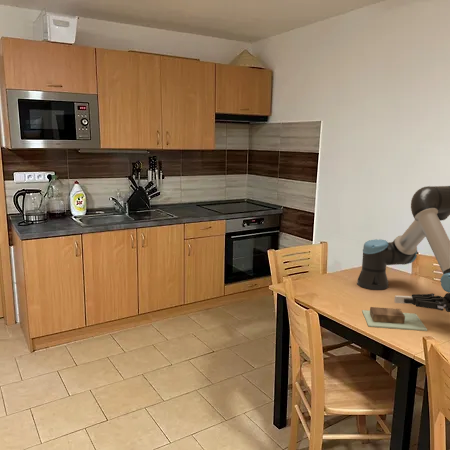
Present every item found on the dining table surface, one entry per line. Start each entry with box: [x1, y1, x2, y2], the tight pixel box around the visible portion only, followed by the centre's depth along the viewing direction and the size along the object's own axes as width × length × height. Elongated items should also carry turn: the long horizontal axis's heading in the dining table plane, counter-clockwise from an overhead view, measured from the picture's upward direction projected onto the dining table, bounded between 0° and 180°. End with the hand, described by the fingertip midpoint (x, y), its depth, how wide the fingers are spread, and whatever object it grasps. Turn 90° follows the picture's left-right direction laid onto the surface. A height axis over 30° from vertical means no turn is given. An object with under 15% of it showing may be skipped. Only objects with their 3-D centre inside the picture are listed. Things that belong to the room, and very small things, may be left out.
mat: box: [361, 309, 428, 332], centre depth 174 cm, size 22×16×1 cm
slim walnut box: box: [369, 306, 405, 323], centre depth 174 cm, size 3×8×12 cm
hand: (395, 299), depth 172 cm, fingers closed
